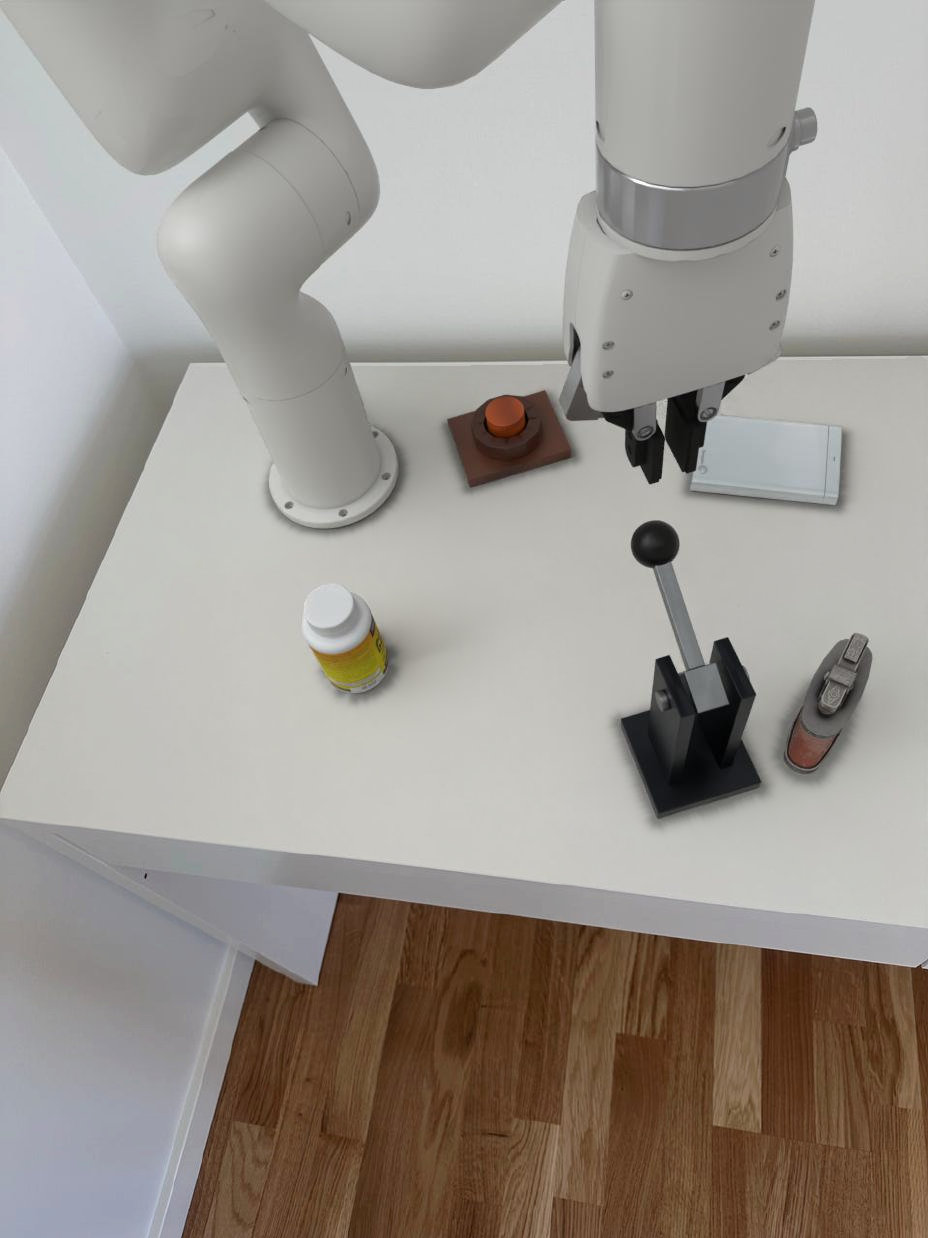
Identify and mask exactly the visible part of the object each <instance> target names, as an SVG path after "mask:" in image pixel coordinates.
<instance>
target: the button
mask: <svg viewBox="0 0 928 1238" xmlns="http://www.w3.org/2000/svg"><path fill="white" fill-rule="evenodd" d="M485 415H486V421H487V427H488V430H489V431H490V432H491V434H493V435H494V436H496V437H499V438H510V437H513V436H516V435H517V434H519V433H520V432H521V431H522V430H523V428H524V426H525V412H524V406H523V404H522V403H521V402H520V401H519V400H518V399H516V398H513V397H500V398H497V399H495V400H493V401H492V402H491V403H490V404H489V405H488V406H487V408H486V411H485Z"/></svg>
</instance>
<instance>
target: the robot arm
mask: <svg viewBox="0 0 928 1238" xmlns="http://www.w3.org/2000/svg"><path fill="white" fill-rule="evenodd" d="M564 1H565V0H0V10H1V12H2V13H3V15H4V16H5V17H6V18H7V20H8V21H9V23H10V24H11V25H12V27H13V29H14V30H15V31H16V33H17V34H18V35H19V36H20V38H21V40H22V41H23V42H24V43H25V45H26V46H27V48H28V49H29V51H30V52H31V53H32V55H33V56H34V57H35V59H36V60H37V62H38V63H39V65H40V66H41V67H42V68H43V70H44V72H45V73H46V74H47V75H48V77H49V78H50V80H51V81H52V82H53V84H54V85H55V87H56V88H57V89H58V91H59V92H60V94H62V96H63V97H64V99H65V101H67V103H68V105H69V106H70V107H71V109H72V110H73V111H74V112H75V114H76V115H77V117H78V118H79V119H80V121H81V122H82V123H83V124H84V127H86V129H87V130H88V131H89V132H90V134H91V135H92V136H93V138H94V139H95V141H97V142H98V144H99V145H100V146H101V147H102V148H103V149H104V151H105V152H106V154H108V155H109V157H111V158H112V159H113V160H114V161H115V162H116V163H117V164H118V165H119V166H121V167H123V168H124V169H125V170H127V171H129V172H130V173H132V174H135V175H138V176H143V177H144V176H145V177H146V176H155V175H156V176H157V175H159V174H162V173H164V172H167V171H169V170H171V169H172V168H175V167H176V166H178V165H179V164H181V163H182V162H183V161H185V160H186V159H188V158H189V157H190V156H192V155H193V154H195V153H196V152H198V151H199V150H200V149H202V148H203V147H204V146H206V145H207V144H208V143H209V142H211V141H212V140H213V139H215V138H216V137H217V136H219V135H220V134H221V133H222V132H224V131H225V130H226V129H227V128H228V127H230V126H231V125H232V124H234V123H235V122H236V121H238V120H239V119H240V118H242V117H243V116H244V115H246V114H249V116H250V117H251V119H252V120H253V121H254V122H255V124H256V125H257V127H258V128H259V129H257V131H256V132H254V133H253V134H252V135H251V136H249V137H248V138H247V139H246V140H245V141H243V142H242V143H241V144H239V145H238V146H237V147H236V148H235V149H233V150H232V151H230V152H228V153H227V154H226V155H224V156H223V157H222V158H221V159H220V160H218V161H217V162H215V164H213V165H212V166H211V167H210V168H208V169H207V170H206V171H205V172H203V173H202V174H201V175H200V176H198V177H197V178H196V179H195V180H194V181H192V182H191V183H190V184H189V185H188V186H187V187H186V188H184V189H183V190H182V191H181V192H180V193H179V194H178V195H177V197H176V198H174V200H173V201H172V202H171V203H170V205H168V208H166V210H165V212H164V214H163V215H162V217H161V219H160V222H159V225H158V228H157V231H156V232H157V233H156V250H157V255H158V258H159V261H160V263H161V265H162V267H163V269H164V271H165V273H166V274H167V276H168V278H169V279H170V280H171V282H172V284H173V285H174V287H175V288H176V289H177V291H178V292H179V293H180V295H182V297H183V298H184V300H185V301H186V302H187V303H188V305H189V306H190V308H191V309H192V310H193V312H194V313H195V315H196V316H197V318H198V319H199V320H200V321H201V323H202V324H203V326H204V327H205V329H206V331H207V332H208V334H209V336H210V337H211V339H212V341H213V342H214V344H215V346H216V347H217V349H218V351H219V353H220V356H221V357H222V360H223V361H224V363H225V365H226V367H227V369H228V372H229V373H230V375H231V377H232V379H233V382H234V384H235V385H236V388H237V390H238V392H239V393H240V395H241V398H242V400H243V402H244V404H245V406H246V408H247V410H248V412H249V414H250V416H251V419H252V420H253V423H254V424H255V426H256V430H257V431H258V434H259V435H260V437H261V439H262V441H263V443H264V445H265V448H266V449H267V452H268V454H269V456H270V458H271V460H272V464H271V466H270V469H269V476H268V488H269V491H270V495H271V497H272V500H273V502H274V503H275V506H276V507H277V509H278V510H279V511H280V512H281V513H282V514H283V515H284V516H285V517H286V518H288V519H289V520H290V521H292V522H294V523H296V524H298V525H300V526H303V527H307V528H311V529H312V528H313V529H324V530H326V529H335V528H341V527H344V526H345V527H346V526H349V525H352V524H354V523H356V522H359V521H361V520H364V519H365V518H366V517H368V516H370V515H371V514H374V512H376V511H377V510H378V509H379V508H380V507H381V506H382V505H383V504H384V503H385V502H386V501H387V499H388V498H389V497H390V496H391V494H392V492H393V491H394V488H395V486H396V483H397V481H398V477H399V467H400V465H399V460H398V455H397V451H396V450H395V446H394V445H393V443H392V441H391V440H390V438H389V437H388V436H387V435H386V434H385V433H384V431H382V430H381V429H378V428H377V427H375V426H374V425H372V424H371V423H370V420H369V418H368V414H367V411H366V408H365V405H364V402H363V398H362V396H361V392H360V389H359V386H358V383H357V380H356V378H355V373H354V370H353V368H352V365H351V361H350V358H349V355H348V352H347V350H346V346H345V343H344V340H343V337H342V334H341V331H340V328H339V326H338V324H337V321H336V319H335V318H334V316H333V314H332V313H331V311H330V310H329V309H328V308H327V307H326V306H325V305H324V304H323V302H320V300H318V299H316V298H315V297H313V296H311V295H309V294H308V293H305V292H303V291H302V290H301V289H302V287H303V286H304V284H305V282H306V281H307V280H308V279H309V278H310V277H311V276H312V275H314V274H315V272H316V271H318V270H319V269H320V267H321V266H322V265H323V264H324V263H326V261H328V259H329V258H331V257H332V256H334V254H336V253H337V251H338V250H340V249H341V248H342V247H344V245H345V244H346V243H348V241H350V240H351V239H352V238H353V237H354V236H355V235H356V234H357V233H359V231H360V230H362V228H363V227H364V226H365V225H366V224H367V223H368V222H369V221H370V219H371V218H372V217H373V215H374V214H375V212H376V211H377V207H378V206H379V202H380V197H381V182H380V176H379V172H378V168H377V165H376V162H375V159H374V156H373V154H372V152H371V150H370V147H369V145H368V143H367V141H366V139H365V137H364V135H363V133H362V131H361V129H360V128H359V125H358V124H357V121H356V120H355V118H354V116H353V114H352V112H351V111H350V109H349V107H348V105H347V103H346V101H345V99H344V98H343V96H342V94H341V92H340V90H339V88H338V86H337V85H336V82H335V81H334V78H333V77H332V75H331V74H330V72H329V70H328V68H327V66H326V64H325V62H324V61H323V58H322V57H321V55H320V53H319V51H318V49H317V47H316V45H315V44H314V42H313V40H312V38H311V36H312V37H313V38H315V39H316V40H318V41H319V42H320V43H322V44H323V45H325V46H326V47H328V48H329V49H331V50H333V51H334V52H336V54H338V55H340V56H342V57H343V58H345V59H346V60H349V61H350V62H351V63H353V64H354V65H356V66H358V67H360V68H362V69H364V70H365V71H367V72H369V73H371V74H373V75H375V76H378V77H380V78H381V79H384V80H386V81H388V82H392V83H394V84H398V85H402V86H405V87H410V88H414V89H419V90H420V89H421V90H436V89H442V88H449V87H454V86H456V85H459V84H463V83H464V82H465V81H467V80H469V79H471V78H473V77H475V76H477V75H478V74H480V73H481V72H482V71H483V70H485V69H486V68H487V67H489V66H490V65H491V64H492V63H494V62H496V60H497V59H498V58H500V57H501V56H502V55H503V54H504V53H505V52H506V51H507V50H508V49H510V48H511V47H512V46H513V45H514V44H515V43H516V42H517V41H519V40H520V39H521V38H522V37H523V36H524V35H525V34H527V33H528V32H529V31H530V30H531V29H532V28H534V27H535V26H536V25H537V24H539V22H541V21H542V20H543V19H544V18H545V17H546V16H547V15H548V14H550V13H551V12H552V11H553V10H554V9H556V7H558V6H559V5H560V4H561V3H563V2H564ZM593 3H594V7H593V8H594V11H593V13H594V14H593V15H594V104H595V105H594V113H595V114H594V117H595V118H594V119H595V120H594V121H595V122H594V123H595V125H594V127H595V129H594V132H595V190H592V191H590V192H588V193H585V194H584V195H582V197H581V198H580V199H579V201H578V204H577V208H576V210H575V214H574V218H573V223H572V227H571V232H570V238H569V244H568V251H567V257H566V266H565V276H564V285H563V286H564V287H563V304H562V344H563V352H564V355H565V356H564V357H565V359H566V362H567V364H568V366H569V367H570V369H569V371H568V374H567V377H566V379H565V382H564V383H563V384H564V385H563V387H562V390H561V392H560V394H559V397H558V403H559V405H560V407H561V409H562V412H563V414H564V416H565V418H566V420H567V421H569V422H582V421H583V422H584V421H598V420H599V419H604V420H605V421H606V422H607V423H610V424H612V425H615V426H616V427H618V428H621V429H624V450H625V454H626V458H627V459H628V462H629V464H630V465H631V467H632V468H634V469H635V468H638V467H640V469H641V471H642V473H643V475H644V477H645V479H646V481H647V483H648V485H654V484H657V483H659V482H660V480H661V479H662V478H663V467H664V457H665V446H666V445H665V444H667V446H668V448H669V450H670V452H671V453H672V456H673V458H674V459H675V461H676V464H677V466H678V467H679V469H680V471H681V472H682V473H685V474H690V473H693V472H694V471H696V467H697V459H698V452H699V448H701V447H703V446H704V440H705V433H706V426H707V421H710V420H712V419H713V418H714V417H716V415H719V412H720V407H721V403H722V400H723V399H724V398H725V397H726V396H728V395H729V394H730V393H731V392H732V391H733V390H734V389H735V388H737V386H739V384H741V383H742V382H743V381H744V379H745V377H746V375H748V376H750V375H751V374H753V373H755V372H757V371H759V370H760V369H763V368H765V367H766V366H767V365H769V364H772V363H773V362H775V361H776V360H778V359H779V358H780V357H781V356H782V353H783V348H782V345H781V340H782V337H783V333H784V329H785V325H786V321H787V315H788V308H789V303H790V294H791V286H792V279H793V277H792V275H793V264H794V263H793V262H794V218H793V202H792V190H791V185H790V183H789V181H788V178H787V177H786V176H787V172H788V166H789V162H790V161H789V160H790V156H791V154H792V152H795V151H797V150H798V149H799V147H801V146H804V145H809V144H812V143H813V142H814V141H815V140H816V137H817V135H818V119H817V115H816V113H815V111H814V109H813V108H812V107H808V106H807V107H804V108H801V109H797V110H796V107H797V102H798V101H797V100H798V97H799V96H798V95H799V90H800V85H801V79H802V74H803V70H804V69H803V68H804V64H805V58H806V53H807V46H808V43H809V36H810V30H811V25H812V20H813V14H814V10H815V5H816V0H594V1H593ZM663 400H664V401H665V400H667V401H666V410H665V412H666V414H665V423H664V432H663V430H662V428H661V426H660V424H659V422H658V419H657V405H658V404H657V402H660V401H663Z"/></svg>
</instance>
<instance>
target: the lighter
mask: <svg viewBox="0 0 928 1238" xmlns="http://www.w3.org/2000/svg"><path fill="white" fill-rule="evenodd" d="M869 642H870V639H869V637H868V636H867V635H865V634H863V633H860V632H853V633H852V634H851V635H850V637H849V638H845V639H841V640H838V641H837V642H836V643H835V644H834V645H833V647H832V648H831V649H830V651H828V652H827V654H826V655H825V656H824V658H823V659H822V660H821V662H820V665H818V667H817V669H816V671H815V673H814V675H813V676H812V679H811V681H810V683H809V686H808V689H807V691H806V693H805V697H804V699H803V702H802V705H800V707H799V709H798V711H797V712H796V713H795V717H794V719H793V720H792V721H793V722H792V724H791V726H790V729H789V731H788V734H787V738H786V742H785V745H784V751H783V760H784V763H785V765H786V766H787V767H788V768H789V769H790V770H791V771H793V772H795V773H797V774H801V775H810V774H813V773H815V772H816V771H817V770H818V769H819V768H820V767H821V766H822V764H823V763H824V762H825V760H826V759H827V757H828V756H829V755H830V753H831V751H832V750H833V748H834V746H835V744H836V743H837V741H838V739H839V738H840V736H841V734H842V732H843V730H844V729H845V727H846V726H847V723H848V722H849V720H850V718H852V715H853V713H854V711H855V710H856V708H857V707H858V704H859V703H860V701H861V699H862V698H863V696H864V692H865V689H866V687H867V684H868V682H869V678H870V673H871V668H872V664H873V653H872V651H871V649H870V647H868V645H869Z"/></svg>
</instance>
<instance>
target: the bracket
mask: <svg viewBox="0 0 928 1238" xmlns="http://www.w3.org/2000/svg"><path fill="white" fill-rule="evenodd" d="M709 657H710V658H709V663H708V664H710V663H717V666H718V669H719V673H720V676H721V679H722V682H723V685H724V688H725V691H726V694H727V697H728V700H729V704H728V705H725V706H722V707H718V708H715V709H712V710H708V711H705V712H702V713H699V714H695V711H694V708H693V706H692V704H691V702H690V699H689V697H688V695H687V693H686V690H685V688H684V686H683V684H682V681H681V679H680V677H679V675H678V673H679V672H678V670H677V668H676V665H675V664H674V661H673V659H672V657H671V655H670V654H668V655H664V656H661V657H658V658H655V661H654V669H653V670H654V671H653V678H652V679H653V680H652V687H651V697H650V707H649V710H645V711H641V712H638V713H636V714H632V715H628V716H625V717H622V718H620V727H621V730H622V733H623V735H624V739H625V741H626V743H627V745H628V748H629V751H630V753H631V756H632V759H633V762H634V763H635V766H636V769H637V771H638V773H639V774H638V775H639V776H640V779H641V782H642V783H643V787H644V789H645V791H646V793H647V794H646V795H647V796H648V799H649V802H650V805H651V808H652V809H653V812H654V814H655V816H656V819H657V820H658V819H663V818H665V817H668V816H673V815H675V814H678V813H681V812H685V811H688V810H692V809H695V808H697V807H701V806H705V805H707V804H711V803H714V802H717V801H721V800H723V799H728V798H730V797H733V796H737V795H740V794H743V793H747V792H750V791H752V790H757V789H759V788H760V787H761V784H762V780H761V777H760V776H759V774H758V771H757V769H756V767H755V765H754V763H753V761H752V759H751V756H750V754H749V751H748V750H747V748H746V745H745V744H744V742H743V739H742V738H743V736H744V733H745V730H746V726H747V722H748V720H749V717H750V714H751V711H752V709H753V705H754V702H755V700H756V696H757V693H756V690H755V689H754V686H753V684H752V683H751V677H750V674H749V671H748V670H747V667H745V665H743V664H742V662H741V660H740V658H739V656H738V655H737V652H736V650H735V648H734V646H733V644H732V642H731V640H730V637H728V636H726V637H723V638H719V639H716V640H714V641H713V644H712V649H711V653H710V656H709Z"/></svg>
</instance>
